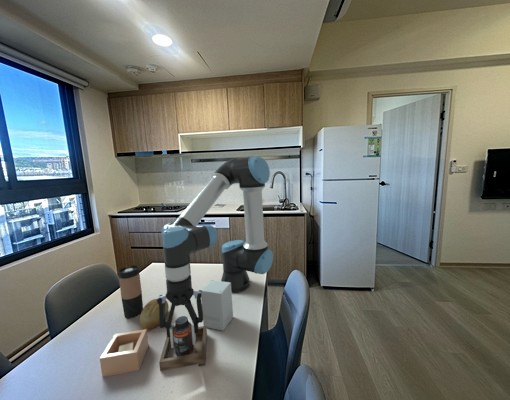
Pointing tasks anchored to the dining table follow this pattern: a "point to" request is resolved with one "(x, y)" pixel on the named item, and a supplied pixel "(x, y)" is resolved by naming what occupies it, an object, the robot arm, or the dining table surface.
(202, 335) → the walnut bin
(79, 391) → the dining table surface
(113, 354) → the light wooden box
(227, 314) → the supplement box
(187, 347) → the supplement bottle
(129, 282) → the travel mug
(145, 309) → the bread roll
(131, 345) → the maple cube
